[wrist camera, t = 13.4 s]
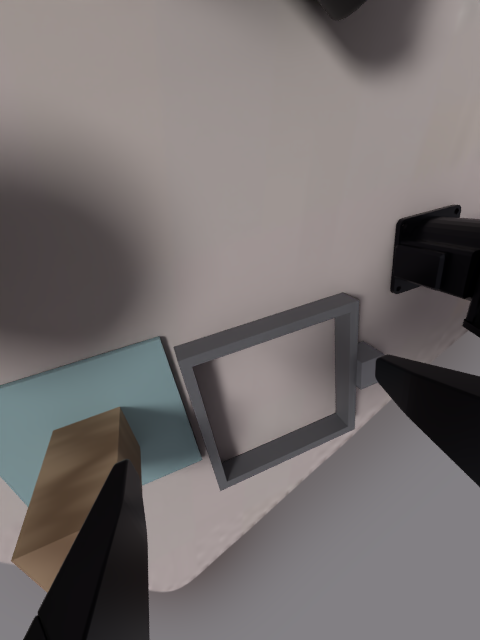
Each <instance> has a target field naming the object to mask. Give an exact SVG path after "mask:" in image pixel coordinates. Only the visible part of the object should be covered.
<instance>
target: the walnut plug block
mask: <svg viewBox="0 0 480 640" xmlns="http://www.w3.org/2000/svg"><path fill="white" fill-rule="evenodd" d="M125 459H129V460H130V461H131V462H132V464H133V466H134V468H135V470H136V471H137V473H138V475H139V478H140V482H141V490H142V474H141V450H140V446H139V444H138V442H137V440H136V438H135V436H134V434H133V432H132V430H131V428H130V426H129V424H128V422H127V420H126V418H125V416H124V414H123V412H122V410H121V408H120V407H117V408H114V409H111V410H109V411H106V412H103V413H100V414H98V415H95V416H92V417H89V418H86V419H84V420H81V421H78V422H75V423H73V424H70V425H67V426H64V427H61V428H59V429H56V430H53V432H52V435H51V438H50V442H49V445H48V448H47V451H46V454H45V457H44V460H43V463H42V466H41V470H40V473H39V476H38V479H37V482H36V485H35V488H34V491H33V494H32V498H31V501H30V504H29V507H28V510H27V513H26V516H25V519H24V522H23V525H22V529H21V532H20V535H19V538H18V541H17V544H16V547H15V550H14V553H13V557H12V560H11V561H12V562H13V563H14V564H15V565H16V566H17V567H19V568H20V569H21V570H22V571H23V572H24V573H25V574H27V575H28V576H29V577H30V578H31V579H32V580H34V581H35V582H36V583H37V584H38V585H39V586H40V587H42V588H43V589H44V590H45V591H46V592H47V593H48V591H49V589H50V587H51V585H52V583H53V581H54V579H55V577H56V575H57V573H58V572H59V570H60V568H61V566H62V564H63V562H64V560H65V558H66V556H67V554H68V552H69V550H70V548H71V546H72V544H73V543H74V541H75V539H76V537H77V535H78V533H79V531H80V529H81V527H82V525H83V523H84V521H85V519H86V517H87V516H88V514H89V512H90V510H91V508H92V506H93V504H94V502H95V500H96V498H97V496H98V494H99V492H100V490H101V488H102V487H103V485H104V483H105V481H106V479H107V477H108V475H109V473H110V471H111V469H112V467H113V466H114V464H116V463H118V462H120V461H122V460H125Z"/></svg>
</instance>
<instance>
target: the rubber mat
mask: <svg viewBox="0 0 480 640" xmlns="http://www.w3.org/2000/svg"><path fill="white" fill-rule="evenodd" d="M117 407H120V408H121V410H122V412H123V414H124V416H125V418H126V420H127V422H128V424H129V426H130V428H131V430H132V432H133V434H134V436H135V438H136V440H137V442H138V444H139V446H140V450H141V474H142V485H145V484H147V483H149V482H152V481H154V480H156V479H159V478H161V477H163V476H166V475H168V474H170V473H173V472H175V471H177V470H180V469H182V468H184V467H187V466H189V465H191V464H194V463H196V462H198V461H201V460H202V457H201V454H200V451H199V448H198V446H197V443H196V440H195V437H194V434H193V431H192V428H191V426H190V423H189V420H188V417H187V414H186V411H185V408H184V406H183V403H182V400H181V397H180V394H179V391H178V388H177V386H176V383H175V380H174V377H173V374H172V371H171V368H170V365H169V363H168V360H167V357H166V354H165V351H164V348H163V345H162V343H161V340H160V337H159V336H158V337H155V338H152V339H149V340H145V341H142V342H139V343H136V344H133V345H129V346H126V347H123V348H120V349H116V350H113V351H110V352H107V353H104V354H100V355H97V356H94V357H91V358H87V359H84V360H81V361H78V362H75V363H71V364H68V365H65V366H62V367H58V368H55V369H52V370H49V371H46V372H42V373H39V374H36V375H33V376H29V377H26V378H23V379H20V380H17V381H13V382H10V383H7V384H4V385H0V476H1V478H2V479H3V480H4V481H5V482H6V483H7V484H8V485H9V486H10V487H11V489H12V490H13V491H14V492H15V493H16V494H17V495H18V496H19V497H20V499H21V500H22V501H23V502H24V503H25V504H26V505H27V506H28V507H29V504H30V501H31V498H32V494H33V491H34V488H35V485H36V482H37V479H38V476H39V473H40V470H41V466H42V463H43V460H44V457H45V454H46V451H47V448H48V445H49V442H50V438H51V435H52V432H53V430H56V429H59V428H61V427H64V426H67V425H70V424H73V423H75V422H78V421H81V420H84V419H86V418H89V417H92V416H95V415H98V414H100V413H103V412H106V411H109V410H111V409H114V408H117Z"/></svg>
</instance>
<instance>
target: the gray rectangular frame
mask: <svg viewBox="0 0 480 640" xmlns="http://www.w3.org/2000/svg"><path fill="white" fill-rule="evenodd" d="M332 318H335V388H336V413H335V414H333V415H330V416H328V417H326V418H324V419H321V420H319V421H317V422H314V423H312V424H310V425H308V426H305V427H303V428H301V429H298V430H296V431H294V432H292V433H289V434H287V435H285V436H282V437H280V438H278V439H276V440H273V441H271V442H269V443H266V444H264V445H262V446H260V447H257V448H255V449H253V450H250V451H248V452H246V453H244V454H241V455H239V456H237V457H234V458H232V459H230V460H228V461H225V462H223V463H221V460H220V457H219V453H218V450H217V447H216V444H215V440H214V437H213V434H212V430H211V427H210V424H209V421H208V417H207V414H206V411H205V407H204V404H203V401H202V397H201V394H200V391H199V388H198V384H197V381H196V378H195V374H194V371H193V368H192V367H193V366H196V365H199V364H202V363H205V362H208V361H211V360H214V359H216V358H219V357H222V356H225V355H228V354H231V353H234V352H237V351H240V350H243V349H245V348H248V347H251V346H254V345H257V344H260V343H263V342H266V341H269V340H271V339H274V338H277V337H280V336H283V335H286V334H289V333H292V332H295V331H298V330H300V329H303V328H306V327H309V326H312V325H315V324H318V323H321V322H324V321H327V320H329V319H332ZM358 321H359V300H358V299H355V298H353V297H351V296H349V295H347V294H345V293H340V294H337V295H333V296H330V297H327V298H324V299H321V300H318V301H315V302H312V303H309V304H306V305H303V306H299V307H296V308H293V309H290V310H287V311H284V312H281V313H278V314H275V315H272V316H269V317H265V318H262V319H259V320H256V321H253V322H250V323H247V324H244V325H241V326H238V327H235V328H231V329H228V330H225V331H222V332H219V333H216V334H213V335H210V336H207V337H204V338H201V339H197V340H194V341H191V342H188V343H185V344H182V345H179V346H176V347H174V350H175V354H176V357H177V361H178V364H179V367H180V370H181V373H182V376H183V379H184V382H185V385H186V388H187V391H188V394H189V397H190V400H191V403H192V406H193V409H194V412H195V415H196V418H197V421H198V424H199V427H200V430H201V433H202V436H203V440H204V443H205V446H206V449H207V452H208V455H209V458H210V461H211V464H212V467H213V470H214V473H215V476H216V479H217V482H218V485H219V488H220V491H221V490H224V489H226V488H228V487H230V486H232V485H234V484H237V483H239V482H241V481H243V480H245V479H247V478H250V477H252V476H254V475H256V474H258V473H260V472H263V471H265V470H267V469H269V468H271V467H273V466H276V465H278V464H280V463H282V462H284V461H286V460H289V459H291V458H293V457H295V456H297V455H299V454H302V453H304V452H306V451H308V450H310V449H312V448H315V447H317V446H319V445H321V444H323V443H325V442H328V441H330V440H332V439H334V438H336V437H338V436H341V435H343V434H345V433H347V432H349V431H351V430H354V429H355V405H356V386H357V387H358V388H359V389H363V388H366V387H368V386H371V385H373V384H375V383H378V381H377V380H376V378H375V363H376V359H377V358H378V357H381V356H383V355H384V354H383V353H382V352H380V351H378V350H377V349H375V348H374V347H372V346H370V345H369V344H367V343H366V342H364V341H362V342H359V343H358Z"/></svg>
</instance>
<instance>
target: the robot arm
mask: <svg viewBox="0 0 480 640" xmlns="http://www.w3.org/2000/svg"><path fill="white" fill-rule="evenodd" d="M460 213H461V206H460V205H450V206H446V207H443V208H439V209H435V210H431V211H428V212H424V213H420V214H416V215H413V216H409V217H405V218H402V219H400V220H399V221H398V222H397V225H396V233H395V244H394V255H393V266H392V277H391V288H390V289H391V292H392V293H395V294H399V293H402V292H405V291H408V290H411V289H414V288H416V287H419V286H424V287H427V288H430V289H433V290H437V291H441V292H444V293H447V294H450V295H453V296H456V297H459V298H463V299H466V300H469V301H471V303H470V306H469V310H468V313H467V316H466V319H464V322H463V325H462V326H463V327H465V328H466V329H468V330H469V331H471V332H472V333H474V334H475V335H477V336H478V337H480V219H468V218H460ZM375 378H376V380H377V381H378V383H379V384H380V385H381V386H382V387H383V389H384V390H385V391H386V392H387V393H388V395H389V396H390V397H391V398H392V399H393V400H394V402H395V403H396V404H397V405H398V406H399V407H400V409H401V410H402V411H403V412H404V413H405V414H406V415H407V416H408V417H409V418H410V419H411V420H412V421H413V422H414V423H415V424H416V425H417V426H418V427H419V428H420V429H421V430H422V431H423V432H424V433H425V434H426V435H427V436H428V437H429V438H430V439H431V440H432V441H433V442H434V443H435V444H436V445H437V446H438V447H439V448H440V449H441V450H442V451H443V452H444V453H446V454H447V455H448V456H449V457H450V458H451V459H452V460H453V461H454V462H455V463H456V464H457V465H458V466H459V467H460V468H461V469H462V470H463V471H464V472H465V473H466V474H467V475H468V476H469V477H470V478H471V479H472V480H473V481H474V482H475V483H476V484H477V485H478V486H479V487H480V376H475V375H471V374H467V373H463V372H459V371H455V370H451V369H447V368H442V367H438V366H434V365H430V364H426V363H422V362H417V361H413V360H409V359H405V358H401V357H397V356H392V355H388V354H386V355H383V356H381V357H378V358H377V359H376V363H375ZM148 596H149V594H148V543H147V529H146V521H145V513H144V505H143V498H142V490H141V482H140V478H139V475H138V473H137V471H136V470H135V468H134V466H133V464H132V462H131V461H130V460H129V459H125V460H122V461H120V462H118V463H116V464H114V466H113V467H112V469H111V471H110V473H109V475H108V477H107V479H106V481H105V483H104V485H103V487H102V488H101V490H100V492H99V494H98V496H97V498H96V500H95V502H94V504H93V506H92V508H91V510H90V512H89V514H88V516H87V517H86V519H85V521H84V523H83V525H82V527H81V529H80V531H79V533H78V535H77V537H76V539H75V541H74V543H73V544H72V546H71V548H70V550H69V552H68V554H67V556H66V558H65V560H64V562H63V564H62V566H61V568H60V570H59V572H58V573H57V575H56V577H55V579H54V581H53V583H52V585H51V587H50V589H49V591H48V593H47V595H46V597H45V599H44V600H43V602H42V604H41V607H40V608H39V610H38V615H37V616H35V618H34V620H33V621H32V623H31V625H30V627H29V629H28V631H27V633H26V635H25V637H24V639H23V640H149V597H148Z"/></svg>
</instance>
